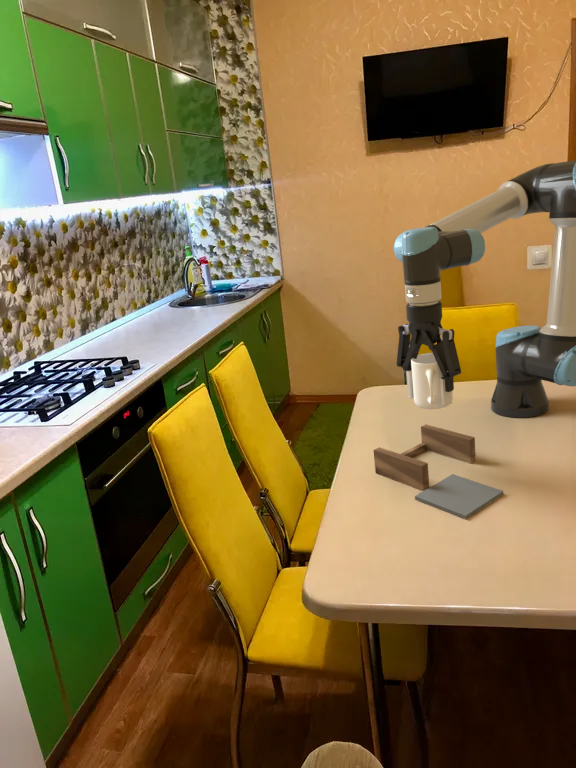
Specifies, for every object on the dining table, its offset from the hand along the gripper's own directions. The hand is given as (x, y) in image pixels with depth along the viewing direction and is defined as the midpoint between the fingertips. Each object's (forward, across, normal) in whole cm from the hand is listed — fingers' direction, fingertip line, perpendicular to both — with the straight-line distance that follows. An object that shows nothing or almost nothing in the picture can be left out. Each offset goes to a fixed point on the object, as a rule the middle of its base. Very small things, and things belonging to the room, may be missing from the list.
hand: (429, 400), depth 139 cm
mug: (+1, +1, 0) cm, 2 cm away
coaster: (+18, +12, -6) cm, 22 cm away
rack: (+17, -3, 0) cm, 18 cm away
